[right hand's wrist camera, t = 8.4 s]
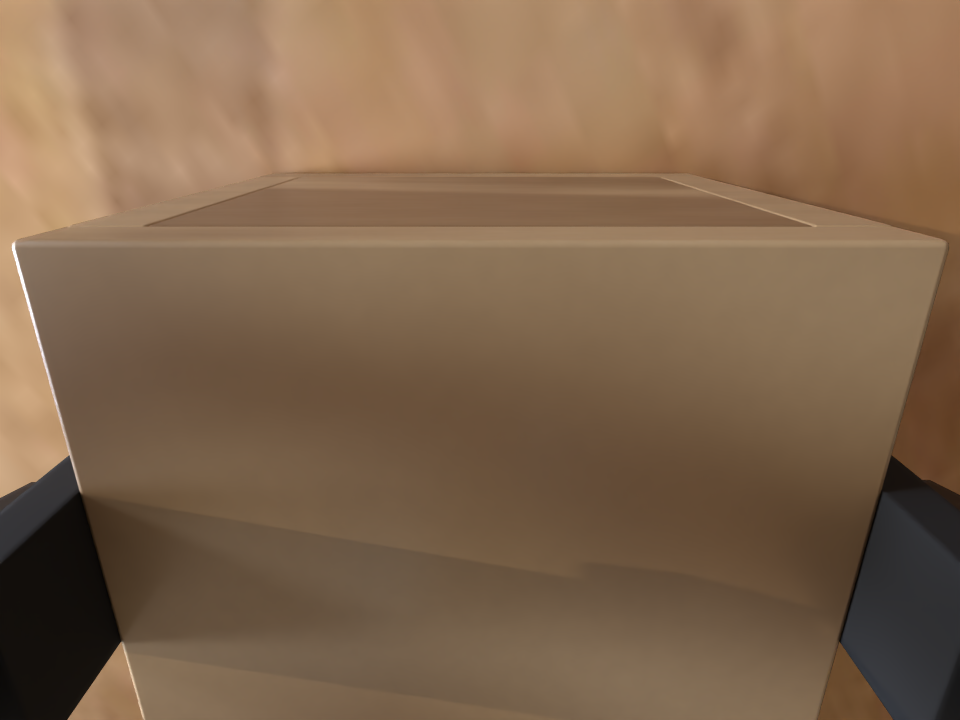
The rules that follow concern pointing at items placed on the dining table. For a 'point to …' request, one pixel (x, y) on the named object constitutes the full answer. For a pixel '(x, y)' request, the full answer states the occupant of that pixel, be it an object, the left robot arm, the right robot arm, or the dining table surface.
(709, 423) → the cabinet
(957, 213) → the dining table surface
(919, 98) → the dining table surface
